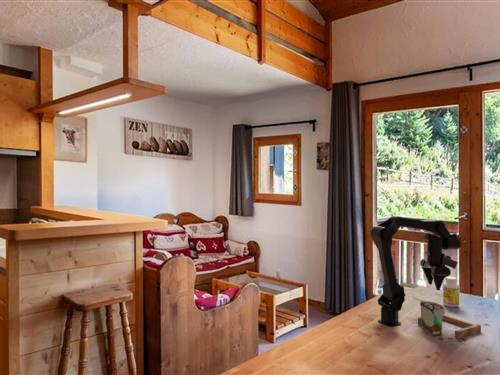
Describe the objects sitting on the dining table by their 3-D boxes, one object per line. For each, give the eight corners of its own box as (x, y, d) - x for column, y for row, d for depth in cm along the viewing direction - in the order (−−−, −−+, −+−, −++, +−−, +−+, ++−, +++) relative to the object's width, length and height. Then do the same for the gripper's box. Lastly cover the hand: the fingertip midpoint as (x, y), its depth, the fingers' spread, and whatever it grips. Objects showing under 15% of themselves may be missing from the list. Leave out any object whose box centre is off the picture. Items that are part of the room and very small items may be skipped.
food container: (451, 337, 136) (451, 310, 136) (434, 337, 136) (434, 310, 136) (435, 325, 148) (435, 300, 148) (420, 325, 148) (419, 300, 148)
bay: (457, 338, 135) (457, 331, 135) (417, 323, 150) (417, 317, 150) (480, 331, 142) (480, 325, 142) (440, 317, 157) (440, 312, 157)
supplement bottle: (439, 304, 175) (439, 276, 175) (449, 302, 178) (449, 275, 178) (452, 308, 169) (452, 280, 169) (462, 306, 172) (462, 278, 172)
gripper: (465, 254, 145) (464, 294, 145) (446, 247, 163) (446, 282, 163) (434, 253, 146) (434, 293, 146) (419, 246, 165) (419, 281, 165)
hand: (434, 287), depth 155 cm, fingers open, 9 cm apart
